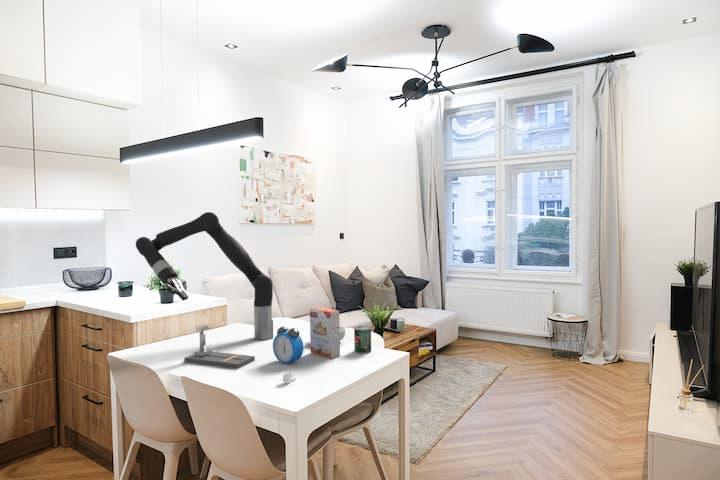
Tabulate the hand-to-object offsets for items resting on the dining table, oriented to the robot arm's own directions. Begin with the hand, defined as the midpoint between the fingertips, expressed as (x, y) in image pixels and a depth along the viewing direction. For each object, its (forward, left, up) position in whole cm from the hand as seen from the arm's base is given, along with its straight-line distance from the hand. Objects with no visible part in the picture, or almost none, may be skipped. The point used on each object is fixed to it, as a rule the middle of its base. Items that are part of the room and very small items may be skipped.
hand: (185, 298), depth 209 cm
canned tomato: (-76, +30, -26) cm, 85 cm away
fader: (-6, +11, -23) cm, 27 cm away
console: (-13, +18, -26) cm, 34 cm away
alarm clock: (-40, +32, -26) cm, 57 cm away
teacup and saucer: (-36, +58, -27) cm, 73 cm away
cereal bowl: (-67, +8, -26) cm, 72 cm away
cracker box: (-58, +28, -26) cm, 69 cm away
